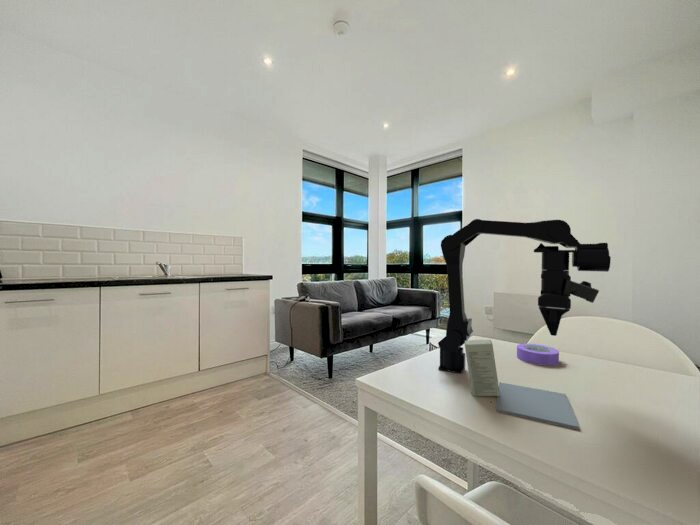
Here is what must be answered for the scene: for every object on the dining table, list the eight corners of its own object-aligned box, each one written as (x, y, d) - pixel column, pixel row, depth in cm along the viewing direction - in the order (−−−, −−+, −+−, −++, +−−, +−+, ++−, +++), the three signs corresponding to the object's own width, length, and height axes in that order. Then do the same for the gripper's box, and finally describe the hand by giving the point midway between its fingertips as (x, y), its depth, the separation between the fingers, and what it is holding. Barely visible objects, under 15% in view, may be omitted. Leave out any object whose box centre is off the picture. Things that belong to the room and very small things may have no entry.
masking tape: (568, 364, 92) (568, 352, 92) (538, 367, 89) (538, 355, 89) (535, 353, 104) (535, 342, 104) (508, 355, 101) (508, 344, 101)
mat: (496, 411, 62) (496, 408, 62) (499, 384, 76) (499, 382, 76) (579, 430, 55) (578, 426, 55) (565, 396, 69) (565, 394, 69)
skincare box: (497, 389, 71) (491, 339, 72) (500, 397, 67) (494, 343, 68) (469, 388, 74) (464, 339, 74) (470, 395, 70) (464, 344, 70)
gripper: (601, 272, 62) (599, 346, 62) (592, 270, 77) (591, 330, 77) (538, 270, 68) (537, 337, 68) (542, 269, 84) (541, 324, 84)
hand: (553, 331), depth 74 cm, fingers open, 9 cm apart
